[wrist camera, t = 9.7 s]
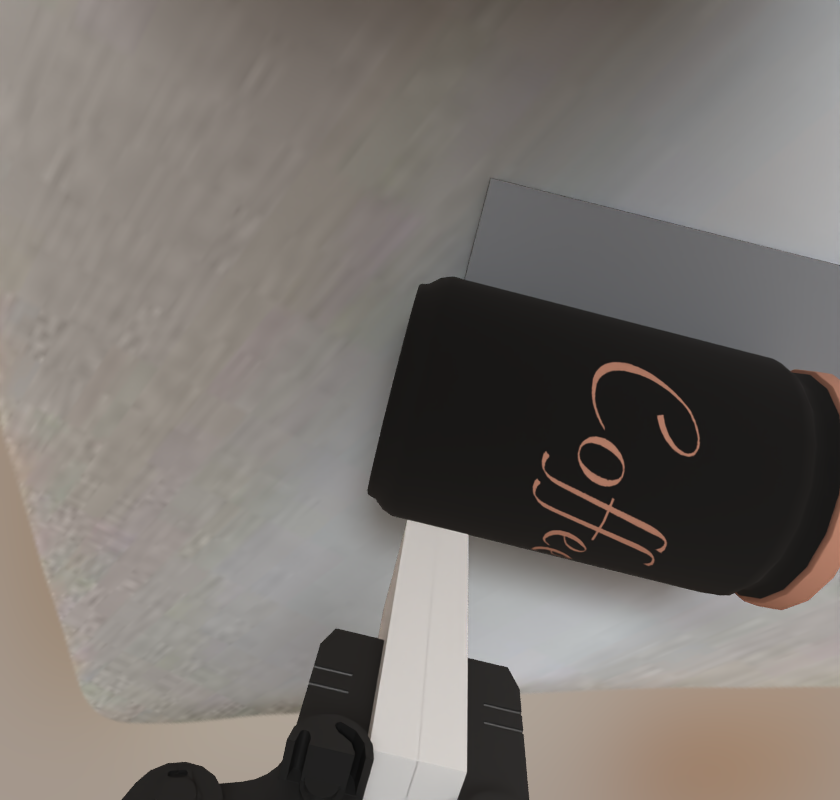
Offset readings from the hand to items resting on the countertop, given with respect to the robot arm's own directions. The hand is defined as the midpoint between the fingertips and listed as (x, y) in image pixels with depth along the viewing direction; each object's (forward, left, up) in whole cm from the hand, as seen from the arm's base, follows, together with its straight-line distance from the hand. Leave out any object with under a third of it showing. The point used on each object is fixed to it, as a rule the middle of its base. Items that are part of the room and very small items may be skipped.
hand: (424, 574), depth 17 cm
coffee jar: (-2, -2, -14) cm, 14 cm away
